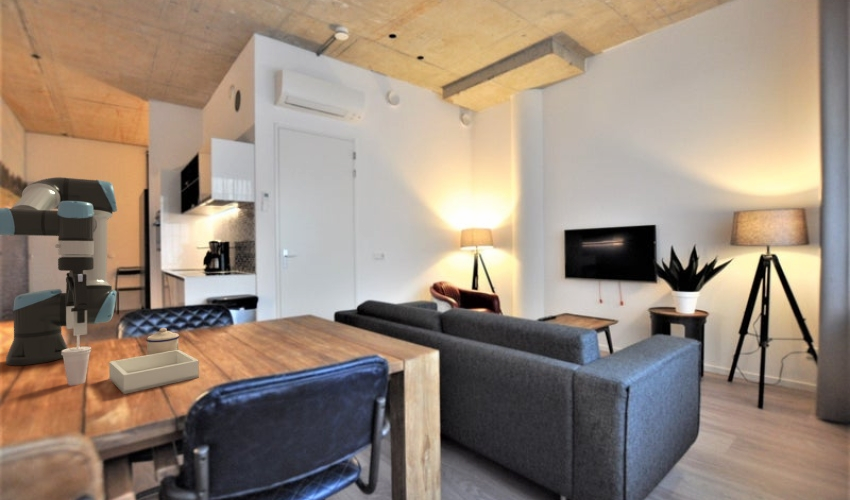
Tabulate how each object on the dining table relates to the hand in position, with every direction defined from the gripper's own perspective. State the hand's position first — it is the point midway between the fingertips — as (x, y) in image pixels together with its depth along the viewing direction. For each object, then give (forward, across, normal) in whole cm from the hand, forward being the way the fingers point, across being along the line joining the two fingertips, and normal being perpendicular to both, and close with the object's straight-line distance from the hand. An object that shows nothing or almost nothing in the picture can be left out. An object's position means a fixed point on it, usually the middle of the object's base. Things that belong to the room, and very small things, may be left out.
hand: (76, 331), depth 111 cm
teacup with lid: (+15, -6, +22) cm, 27 cm away
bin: (+15, +10, +16) cm, 24 cm away
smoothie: (+15, -1, 0) cm, 15 cm away
